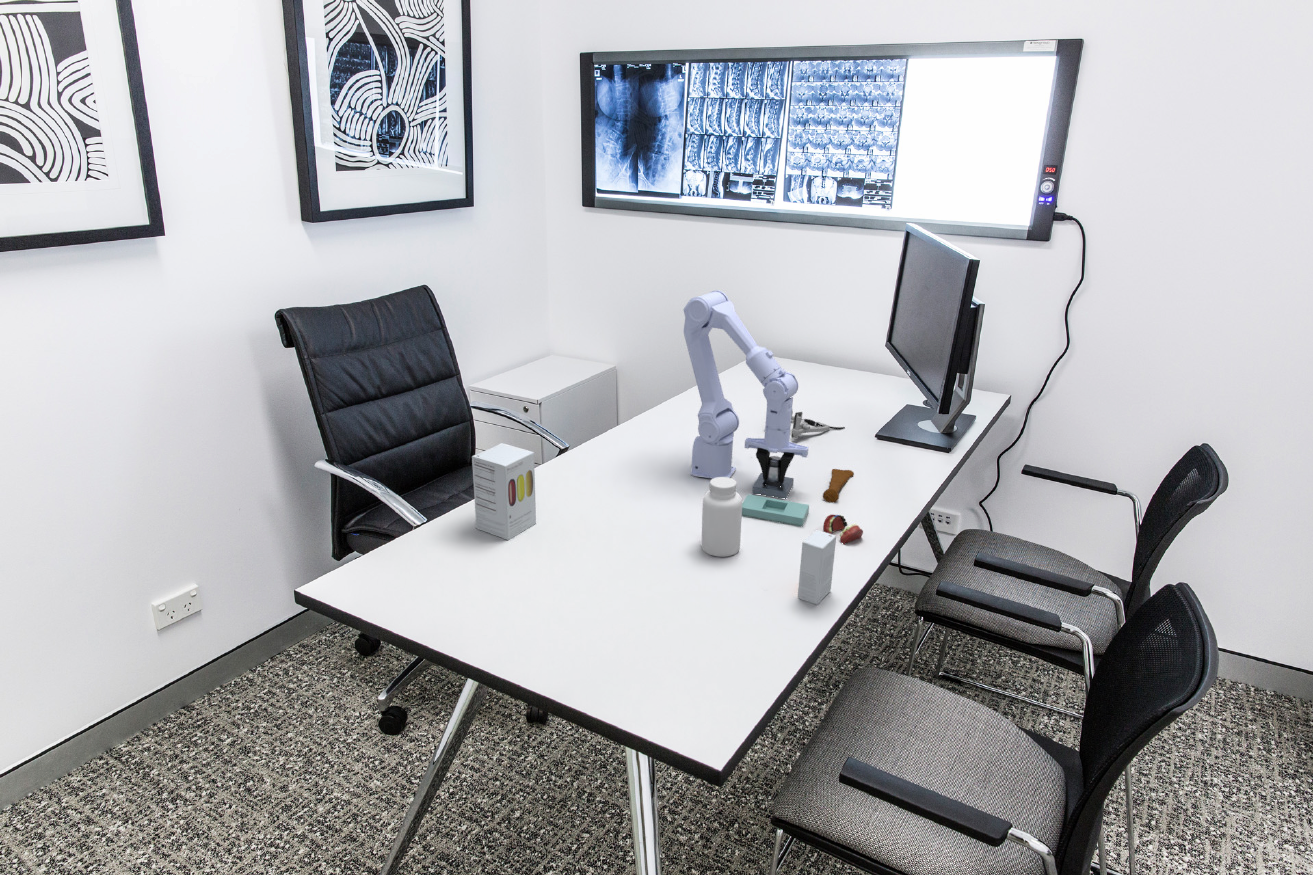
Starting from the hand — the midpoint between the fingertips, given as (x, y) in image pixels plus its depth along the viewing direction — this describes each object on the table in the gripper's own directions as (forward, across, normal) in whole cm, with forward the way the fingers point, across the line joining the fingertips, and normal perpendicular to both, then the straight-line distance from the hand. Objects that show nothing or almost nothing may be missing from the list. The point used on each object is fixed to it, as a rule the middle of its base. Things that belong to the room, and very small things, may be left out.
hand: (773, 479), depth 198 cm
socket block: (+3, 0, 0) cm, 3 cm away
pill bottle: (+3, -4, -31) cm, 31 cm away
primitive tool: (+3, +13, +8) cm, 16 cm away
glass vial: (+3, 0, 0) cm, 3 cm away
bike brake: (+3, -1, +41) cm, 41 cm away
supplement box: (+3, -49, -39) cm, 63 cm away
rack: (+3, +3, -12) cm, 13 cm away
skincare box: (+3, +17, -41) cm, 45 cm away
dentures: (+3, +19, -16) cm, 25 cm away
